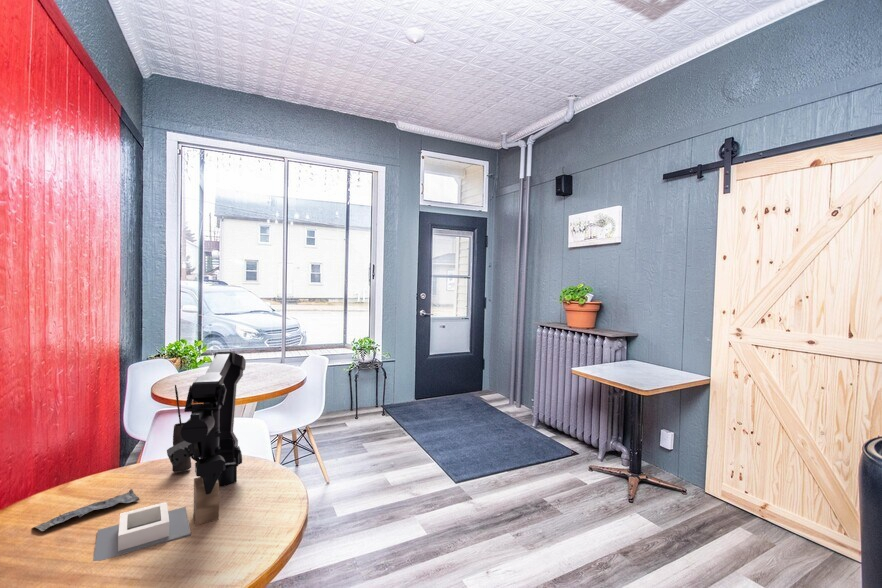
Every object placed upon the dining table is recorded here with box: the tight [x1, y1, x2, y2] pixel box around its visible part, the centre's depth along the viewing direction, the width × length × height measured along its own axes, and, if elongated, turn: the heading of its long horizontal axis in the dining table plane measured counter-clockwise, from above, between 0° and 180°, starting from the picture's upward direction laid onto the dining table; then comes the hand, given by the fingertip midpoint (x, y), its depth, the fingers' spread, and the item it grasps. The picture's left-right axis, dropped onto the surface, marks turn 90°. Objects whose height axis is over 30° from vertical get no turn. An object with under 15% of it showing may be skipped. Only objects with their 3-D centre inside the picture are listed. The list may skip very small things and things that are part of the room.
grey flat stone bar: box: [33, 488, 140, 532], centre depth 105 cm, size 21×7×2 cm, turn 144°
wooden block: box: [193, 476, 220, 526], centre depth 105 cm, size 5×6×10 cm
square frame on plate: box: [92, 501, 192, 562], centre depth 97 cm, size 18×14×4 cm
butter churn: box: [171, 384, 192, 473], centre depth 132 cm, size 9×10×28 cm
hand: (206, 487), depth 105 cm, fingers open, 7 cm apart
